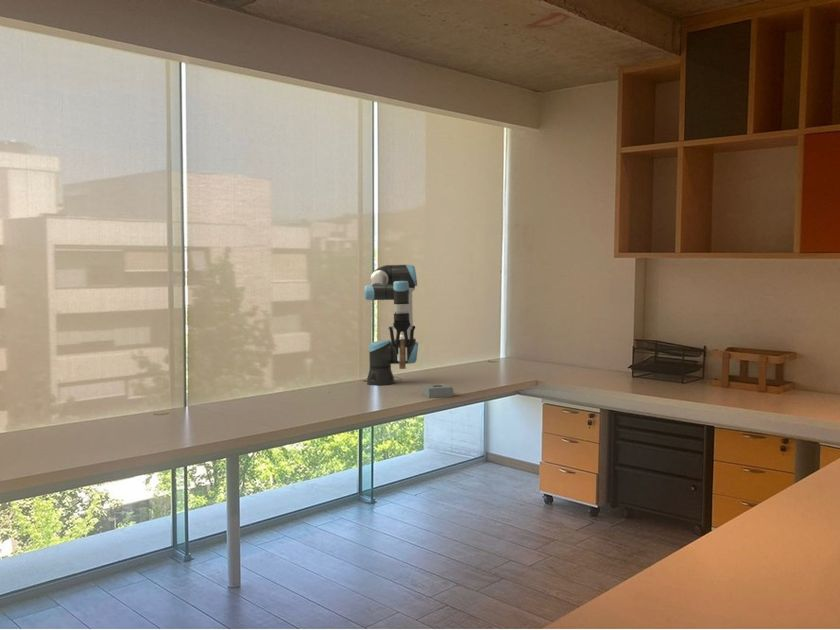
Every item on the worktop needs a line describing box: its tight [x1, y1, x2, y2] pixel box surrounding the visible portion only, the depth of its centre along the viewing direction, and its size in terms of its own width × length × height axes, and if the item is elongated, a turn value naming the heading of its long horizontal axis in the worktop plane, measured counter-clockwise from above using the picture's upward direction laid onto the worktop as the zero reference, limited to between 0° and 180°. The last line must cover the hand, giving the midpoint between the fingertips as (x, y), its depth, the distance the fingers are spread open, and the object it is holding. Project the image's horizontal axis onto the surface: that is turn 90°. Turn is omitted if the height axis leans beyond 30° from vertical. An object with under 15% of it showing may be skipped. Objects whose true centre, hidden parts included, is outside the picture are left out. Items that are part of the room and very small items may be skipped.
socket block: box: [422, 383, 454, 399], centre depth 369 cm, size 12×12×4 cm
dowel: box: [398, 340, 407, 370], centre depth 370 cm, size 3×3×14 cm
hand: (402, 360), depth 370 cm, fingers closed on dowel, 3 cm apart
